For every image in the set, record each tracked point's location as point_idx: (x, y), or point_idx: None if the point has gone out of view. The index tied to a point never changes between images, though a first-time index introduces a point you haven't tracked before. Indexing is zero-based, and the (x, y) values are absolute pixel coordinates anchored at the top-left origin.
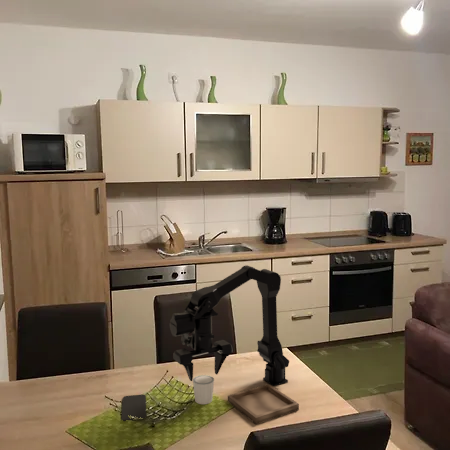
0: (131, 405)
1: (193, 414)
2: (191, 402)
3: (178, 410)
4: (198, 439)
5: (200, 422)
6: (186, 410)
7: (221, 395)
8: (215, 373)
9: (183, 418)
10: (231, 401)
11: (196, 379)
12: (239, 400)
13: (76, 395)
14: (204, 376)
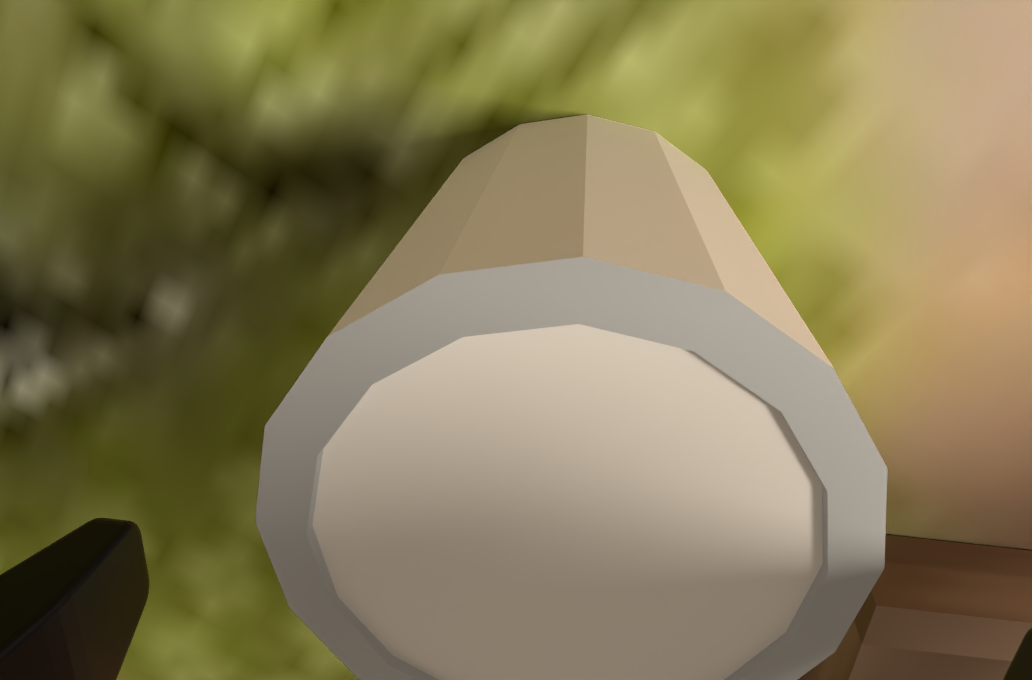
0: None
1: (218, 510)
2: (344, 215)
3: (47, 305)
4: None
5: (225, 674)
6: (165, 375)
7: (943, 327)
8: (1025, 653)
9: (56, 509)
10: (831, 656)
11: (396, 427)
12: (961, 671)
13: None
14: (727, 408)
